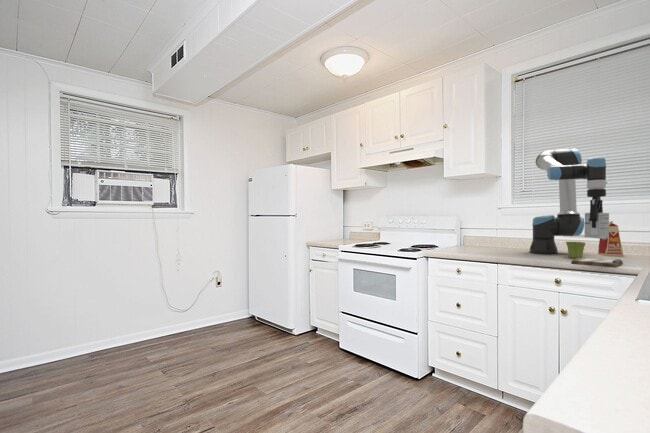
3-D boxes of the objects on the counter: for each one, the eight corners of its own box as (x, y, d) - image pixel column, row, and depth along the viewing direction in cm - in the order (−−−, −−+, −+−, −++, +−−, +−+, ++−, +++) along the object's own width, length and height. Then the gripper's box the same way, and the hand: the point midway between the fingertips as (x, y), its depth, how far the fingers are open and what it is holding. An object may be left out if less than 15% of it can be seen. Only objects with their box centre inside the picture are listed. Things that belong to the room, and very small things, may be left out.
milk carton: (623, 255, 206) (623, 220, 205) (605, 255, 208) (605, 221, 207) (614, 253, 215) (614, 220, 214) (596, 253, 216) (596, 220, 216)
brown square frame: (571, 263, 182) (571, 258, 182) (579, 260, 192) (579, 255, 192) (616, 267, 168) (616, 262, 168) (622, 263, 178) (622, 258, 178)
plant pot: (578, 256, 207) (578, 241, 206) (590, 258, 197) (590, 242, 197) (561, 256, 207) (561, 241, 206) (573, 259, 197) (573, 243, 197)
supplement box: (583, 237, 182) (583, 212, 182) (594, 237, 184) (594, 212, 184) (599, 238, 175) (599, 212, 175) (609, 238, 177) (609, 212, 177)
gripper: (600, 187, 169) (601, 235, 170) (610, 189, 184) (610, 232, 184) (581, 188, 175) (582, 234, 175) (592, 189, 189) (592, 232, 190)
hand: (596, 233), depth 180 cm, fingers closed on supplement box, 9 cm apart
